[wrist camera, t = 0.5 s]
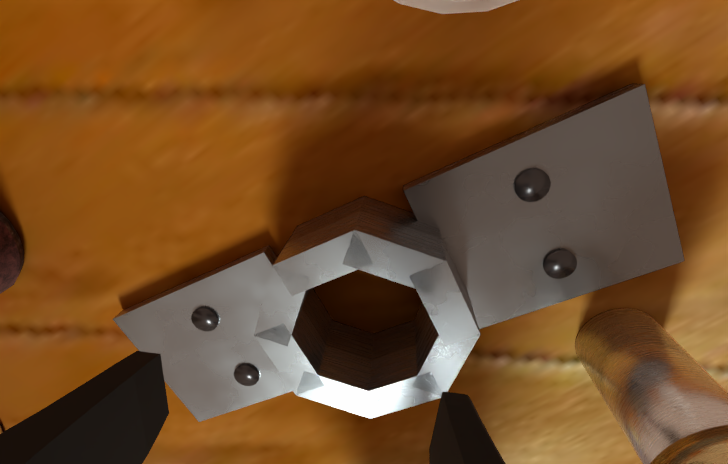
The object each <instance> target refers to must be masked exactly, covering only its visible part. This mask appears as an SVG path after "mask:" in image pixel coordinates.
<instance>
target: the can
mask: <svg viewBox="0 0 728 464" xmlns="http://www.w3.org/2000/svg"><path fill="white" fill-rule="evenodd" d="M23 259H24V250H23V247H22V244H21V240H20V237H19V235H18V234H17V232H16V230H15V229H14V227H13V225H12V224H11V222H10V221H9V220H8V219H7V218H6V217H5V216H4V215H3V214H2V213H1V212H0V293H2V292H4V291H5V290H6V289H8V288H9V287H11V286H12V285H14V283H15V281H16V279H17V277H18V275H19V273H20V271H21V269H22V266H23Z"/></svg>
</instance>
